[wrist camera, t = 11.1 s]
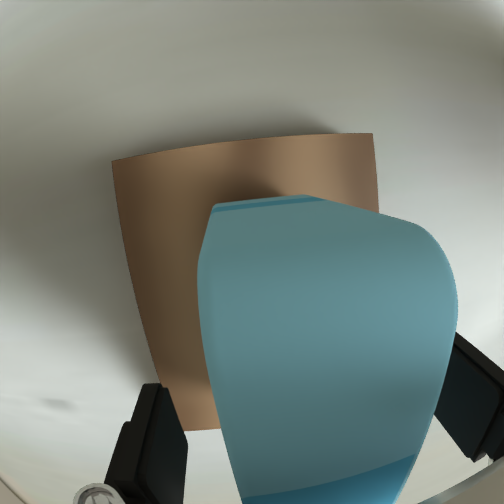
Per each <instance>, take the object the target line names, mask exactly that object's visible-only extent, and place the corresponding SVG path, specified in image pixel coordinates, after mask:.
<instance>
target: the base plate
mask: <svg viewBox="0 0 504 504" xmlns="http://www.w3.org/2000/svg"><path fill="white" fill-rule="evenodd" d="M112 169H113V177H114V185H115V192H116V199H117V206H118V212H119V218H120V224H121V230H122V235H123V241H124V246H125V251H126V256H127V261H128V266H129V270H130V275H131V279H132V284H133V288H134V292H135V296H136V300H137V304H138V308H139V312H140V316H141V320H142V324H143V327H144V331H145V334H146V338H147V341H148V345H149V348H150V352H151V355H152V358H153V361H154V365H155V368H156V371H157V374H158V377H159V380H160V383H161V384H162V386H163V387H167V388H168V390H169V392H170V395H171V398H172V401H173V404H174V407H175V410H176V412H177V415H178V418H179V421H180V423H181V426H182V429H183V431H195V430H209V429H220V428H221V426H220V422H219V418H218V414H217V410H216V405H215V401H214V397H213V393H212V388H211V384H210V380H209V375H208V370H207V366H206V360H205V355H204V348H203V342H202V334H201V326H200V317H199V306H198V290H197V268H198V259H199V255H200V251H201V247H202V244H203V240H204V236H205V233H206V229H207V225H208V222H209V218H210V215H211V211H212V208H213V206H214V205H215V204H218V203H226V202H234V201H243V200H252V199H261V198H271V197H281V196H291V195H302V194H305V195H309V196H314V197H318V198H322V199H326V200H330V201H334V202H338V203H342V204H346V205H350V206H354V207H358V208H361V209H365V210H369V211H373V212H376V213H379V206H378V188H377V174H376V162H375V152H374V142H373V134H372V133H347V134H314V135H295V136H280V137H267V138H256V139H246V140H237V141H228V142H220V143H212V144H204V145H197V146H191V147H184V148H178V149H172V150H166V151H160V152H155V153H149V154H144V155H139V156H134V157H129V158H124V159H119V160H115V161H112Z"/></svg>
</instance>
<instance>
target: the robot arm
mask: <svg viewBox="0 0 504 504" xmlns="http://www.w3.org/2000/svg"><path fill="white" fill-rule="evenodd" d="M434 415H435V417H436V418H437V419H438V420H439V422H440V423H441V424H442V426H443V427H444V428H445V430H446V431H447V432H448V433H449V435H450V436H451V437H452V439H453V440H454V441H455V443H456V444H457V445H458V447H459V448H460V449H461V451H462V452H463V453H464V455H465V456H466V457H468V458H471V460H472V461H473V462H474V463H475V462H476V461H478V460H480V459H481V458H483V457H484V456H485V455H486V454H487V455H488V456H489V460H488V467H486V468H484V469H483V470H481V471H479V472H478V473H476V474H475V475H473V476H471V477H469V478H468V479H466V480H464V481H462V482H461V483H459V484H457V485H455V486H453V487H451V488H449V489H447V490H445V491H443V492H441V493H439V494H437V495H435V496H433V497H431V498H429V499H427V500H425V501H422V502H420V503H418V504H504V371H503V370H502V369H501V368H500V367H499V366H497V365H496V364H495V363H494V362H493V361H491V360H490V359H489V358H488V357H487V356H485V355H484V354H483V353H482V352H481V351H479V350H478V349H477V348H476V347H474V346H473V345H472V344H471V343H469V342H468V341H467V340H466V339H464V338H463V337H462V336H461V335H459V334H458V333H457V332H455V337H454V341H453V346H452V351H451V355H450V359H449V363H448V367H447V371H446V375H445V379H444V382H443V386H442V389H441V393H440V396H439V399H438V402H437V405H436V409H435V412H434ZM187 453H188V443H187V439H186V436H185V434H184V431H183V429H182V426H181V423H180V421H179V418H178V415H177V412H176V410H175V407H174V404H173V401H172V398H171V395H170V392H169V390H168V388H167V387H163V386H162V384H161V383H151V384H143V386H142V389H141V391H140V394H139V397H138V400H137V403H136V406H135V409H134V412H133V415H132V418H131V421H126V422H125V423H124V424H123V426H122V429H121V432H120V434H119V437H118V440H117V443H116V446H115V449H114V452H113V455H112V459H111V462H110V465H109V468H108V471H107V474H106V478H105V481H104V484H102V483H93V484H89V485H86V486H84V487H83V488H81V489H80V490H79V491H78V492H77V493H76V495H75V497H74V499H73V504H183V498H184V486H185V474H186V464H187Z"/></svg>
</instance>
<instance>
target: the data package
mask: <svg viewBox="0 0 504 504" xmlns="http://www.w3.org/2000/svg"><path fill="white" fill-rule="evenodd" d="M197 290H198V306H199V317H200V326H201V334H202V342H203V348H204V355H205V360H206V366H207V370H208V375H209V380H210V384H211V388H212V393H213V397H214V401H215V405H216V410H217V414H218V418H219V422H220V426H221V430H222V433H223V437H224V441H225V445H226V449H227V452H228V456H229V460H230V463H231V467H232V470H233V474H234V477H235V481H236V484H237V487H238V491H239V494H240V497H241V501H242V504H395V503H396V501H397V499H398V497H399V495H400V493H401V491H402V489H403V487H404V485H405V483H406V481H407V479H408V477H409V475H410V472H411V470H412V468H413V466H414V464H415V461H416V459H417V457H418V454H419V452H420V449H421V447H422V444H423V442H424V439H425V437H426V434H427V431H428V429H429V426H430V423H431V420H432V417H433V415H434V412H435V409H436V405H437V402H438V399H439V396H440V393H441V389H442V386H443V382H444V379H445V375H446V371H447V367H448V363H449V359H450V355H451V351H452V346H453V341H454V337H455V332H456V326H457V318H458V299H457V290H456V284H455V280H454V276H453V272H452V270H451V267H450V264H449V262H448V259H447V257H446V255H445V253H444V251H443V250H442V248H441V247H440V245H439V244H438V242H437V241H436V240H435V239H434V237H433V236H432V235H431V234H430V233H429V232H427V231H426V230H425V229H423V228H422V227H420V226H419V225H416V224H414V223H411V222H408V221H404V220H401V219H398V218H394V217H391V216H387V215H383V214H380V213H376V212H373V211H369V210H365V209H361V208H358V207H354V206H350V205H346V204H342V203H338V202H334V201H330V200H326V199H322V198H318V197H314V196H309V195H305V194H302V195H291V196H281V197H271V198H261V199H252V200H243V201H234V202H226V203H218V204H215V205H214V206H213V208H212V211H211V215H210V218H209V222H208V225H207V229H206V233H205V236H204V240H203V244H202V247H201V251H200V255H199V259H198V268H197Z"/></svg>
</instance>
